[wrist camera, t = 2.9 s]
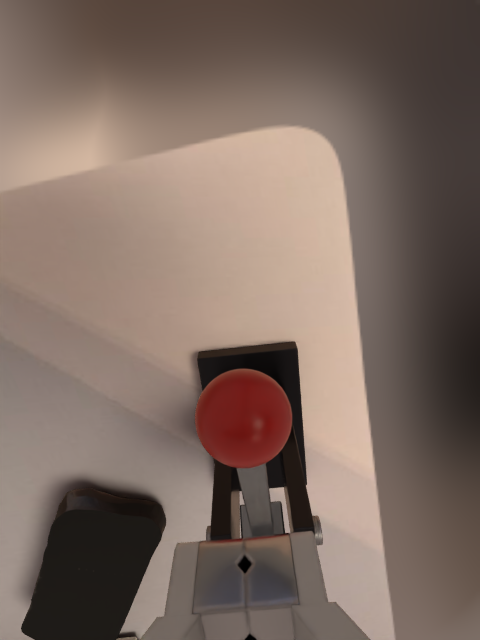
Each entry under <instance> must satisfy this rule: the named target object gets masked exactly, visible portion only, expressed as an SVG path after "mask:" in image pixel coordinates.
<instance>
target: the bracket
mask: <svg viewBox="0 0 480 640" xmlns="http://www.w3.org/2000/svg"><path fill="white" fill-rule="evenodd" d="M197 361H198V367H199V373H200V379H201V385H202V391H203V390H204V389H205V388H206V386H207V385H208V384H209V383H210V382H211V381H212V380H213V379H215V378H216V377H217V376H219V375H221V374H223V373H225V372H228V371H231V370H235V369H252V370H256V371H259V372H262V373H264V374H266V375H268V376H270V377H271V378H272V379H273V380H275V381H276V382H277V383H278V384H279V385H280V386H281V388H282V389H283V390H284V392H285V394H286V395H287V398H288V400H289V403H290V406H291V411H292V426H291V431H290V434H289V437H288V440H287V442H286V444H285V445H284V447H283V448H282V450H281V451H280V452H279V453H278V454H277V455H276V456H275V457H274V458H273V459H271V460H270V461H268V462H266V468H267V477H268V485H269V488H278V487H284V492H285V498H286V505H287V512H288V519H289V526H290V533H296V532H306V531H312V532H313V534H314V537H315V541H316V545H322V544H323V538H322V530H321V524H320V520H319V517H318V516H312V513H311V508H310V503H309V498H308V494H307V489H306V485H307V477H306V462H305V448H304V434H303V420H302V406H301V392H300V377H299V363H298V349H297V346H296V343H295V342H286V343H277V344H268V345H258V346H249V347H240V348H230V349H221V350H212V351H202V352H199V353H198V358H197ZM214 463H215V468H214V484H213V499H212V515H211V526H207V530H206V541H209V540H225V539H240V499H239V491H242V490H241V486H240V482H239V478H238V473H237V469H236V468H235V467H230V466H228V465H225V464H223V463H221V462H219V461H218V460H216V459H214Z"/></svg>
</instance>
